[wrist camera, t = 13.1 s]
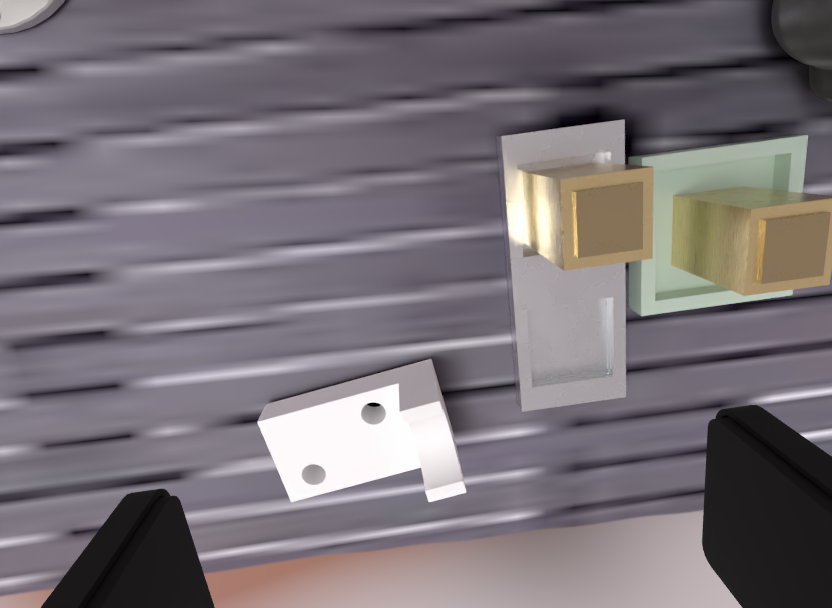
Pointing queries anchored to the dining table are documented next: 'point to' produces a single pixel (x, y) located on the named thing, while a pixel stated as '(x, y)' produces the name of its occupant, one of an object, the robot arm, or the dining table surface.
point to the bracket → (365, 434)
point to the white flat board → (561, 282)
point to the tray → (697, 172)
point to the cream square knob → (590, 214)
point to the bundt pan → (807, 38)
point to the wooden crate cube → (754, 238)
